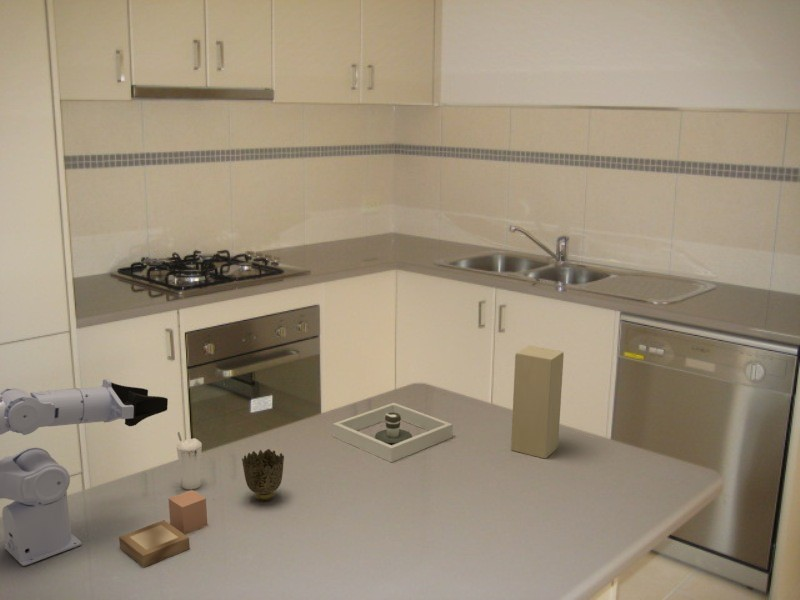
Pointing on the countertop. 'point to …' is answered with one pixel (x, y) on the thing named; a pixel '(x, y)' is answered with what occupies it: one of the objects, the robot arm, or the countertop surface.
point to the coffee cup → (392, 430)
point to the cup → (263, 473)
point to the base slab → (154, 543)
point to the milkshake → (189, 462)
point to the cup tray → (434, 435)
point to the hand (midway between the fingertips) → (156, 399)
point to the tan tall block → (537, 401)
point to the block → (188, 511)
